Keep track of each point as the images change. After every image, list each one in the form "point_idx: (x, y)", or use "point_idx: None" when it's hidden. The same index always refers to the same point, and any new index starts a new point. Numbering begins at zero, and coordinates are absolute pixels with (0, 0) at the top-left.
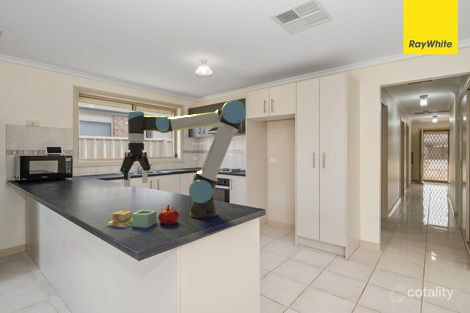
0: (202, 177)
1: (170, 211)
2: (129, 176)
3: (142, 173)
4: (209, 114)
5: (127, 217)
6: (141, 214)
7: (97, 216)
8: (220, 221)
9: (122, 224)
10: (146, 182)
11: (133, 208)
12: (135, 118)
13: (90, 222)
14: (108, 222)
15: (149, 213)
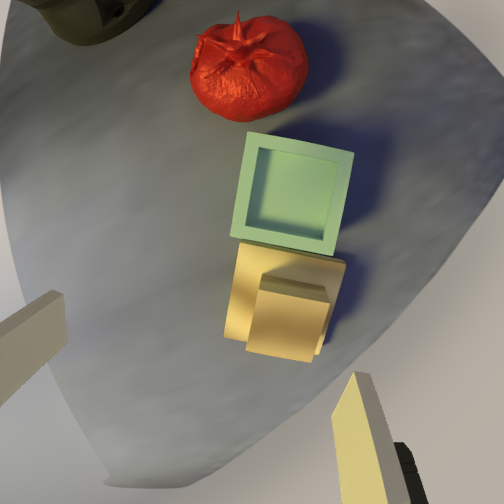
0: None
1: (275, 34)
2: (391, 462)
3: (4, 399)
4: None
5: (294, 287)
6: (344, 192)
7: (195, 427)
8: None
9: (341, 281)
10: (59, 299)
11: None
12: None
13: (275, 418)
14: (317, 352)
15: (315, 151)
